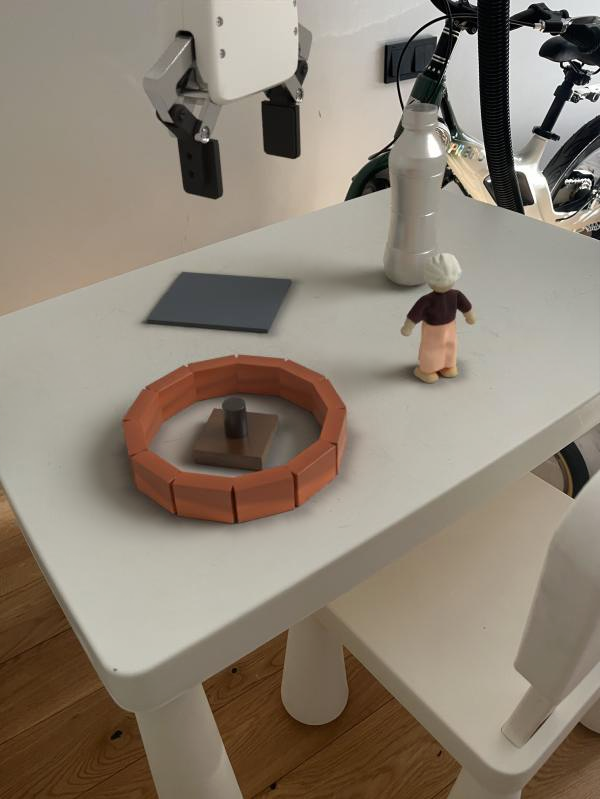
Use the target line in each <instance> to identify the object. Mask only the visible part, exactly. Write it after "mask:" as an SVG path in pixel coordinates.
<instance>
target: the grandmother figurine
mask: <svg viewBox="0 0 600 799" xmlns="http://www.w3.org/2000/svg"><path fill="white" fill-rule="evenodd" d="M423 273H424V276H425V280H426V282H425V283H427V285H428V287H429V288H430V289H431V290H432V291H431V292H429V293H426V294H424V295H422V296H420V297H419V298H418V299H417V300H416V301H415V303H414V304H413V305H412V307H411V308H410V310H409V311H408V313H407V314H406V318H405V320H404V323H403V325H402V327H400V334H401V335H402V336H403V337H410V336H411V335H412V332H413V329H415V327H416V325H417V324H419V323H421V329H420V330H421V333H420V334H421V335H420V342H419V348H418V357H417V359H418V361H419V365H417V366H416V367H415V369H414V370H413V374H414V375H415V376H416V377H417V378H418V379H419V380H421V381H423V382H424V383H427V384H434V383H436V382H438V381H439V376H438V374H437V372H439V373H440V375H441V376H443V377H445V378H454V377H456V376H457V375H458V368H457V354H458V337H457V321H456V320H457V319H456V318H457V310H458V311H459V312H460V313H461V314H462V317H464V321H465V323H466V324H467V325H471V326H472V325H474V324H476V322H477V317H476V315H475V312H474V309H473V305H472V303H471V302H470V300H469V299H468V297H467V296H466V295H465V294H464V293H463V292H462V291H461V290H459V289H454V288H453V287H454V286H455V284H456V282H458V281H459V280H460V279H461V275H462V268H461V266H460V264H459V261H458V259H457V258H456V257H455V255H453V254H452V253H448V252H438V253H437V254H436V255H434V256H432V257H430V258H429V259H428V260H427V262H426V264H425V268H424V271H423Z"/></svg>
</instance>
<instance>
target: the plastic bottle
mask: <svg viewBox="0 0 600 799" xmlns="http://www.w3.org/2000/svg"><path fill="white" fill-rule="evenodd" d="M438 107H439V106H438V105H435V104H431V103H424V102H422V103H421V102H420V103H419V102H418V103H417V102H416V103H410V104H407V105H404V106H403V112H402V120H401V126H402V128H403V131H402V132H401V134H400V135H399V136H398V138H397V139H396V141H395V142H394V144H393V146H392V147H391V149H390V151H389V154H388V174H389V184H390V205H391V206H390V220H389V228H388V234H387V241H386V244H385V247H384V252H383V258H382V261H383V262H382V263H383V270H384V273H385V275H386V276H387V278H388V279H389V280H390V281H391V282H393V283H395V284H397V285H401V286H418V285H423V284H425V283H427V282H426V280H425V276H424V273H423V271H424V268H425V264H426V262H427V260H428V259H429V258H430V257H432V256H434V255H436V254H437V253H439V248H438V242H437V221H438V220H437V218H438V217H437V216H438V215H437V214H438V209H439V207H438V206H439V204H440V194H441V189H442V185H443V180H444V176H445V172H446V168H447V163H448V162H447V161H448V156H447V150H446V147H445V145H444V143H443V141H442V139H441V138H440V136H439V134H438V133H437V132H436V128H437V127H438V125H439V120H438V114H439V108H438Z"/></svg>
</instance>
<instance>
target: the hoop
mask: <svg viewBox="0 0 600 799" xmlns="http://www.w3.org/2000/svg"><path fill="white" fill-rule="evenodd" d="M238 393H242V394H243V393H244V394H251V395H252V394H253V395H254V394H255V395H261V396H263V395H264V396H273V397H280V398H283V399H285V400H286V401H289V402H291V403H293V404H295V405H296V406H298V407H299V408H300V407H301V408H302V409H305V410H306V411H308V412H310V413H312V414H313V415H314V417H315V419H316V421H317V422H318V424H319V426H320V428H321V432H320V435H319V438H318V440H316V441H315V442H314V443H312V444H311V445H310V446H308V447H307V448H305V449H304V450H303V451H301V452H299V454H298V455H296V456H294V458H292V459H291V460H289V461H288V462H286V464H283V465H279V466H275V467H269V468H267V469H263V470H262V471H258V470H257V471H253V472H250V473H246V474H241V475H238V476H234V477H232V476H224V475H216V474H215V475H214V474H207V473H198V472H191V471H182V470H180V469H179V468H177V467H176V466H174V465H173V464H171V463H170V462H169V461H167V460H165V459H164V458H162V457H160V456H159V455H158V454H156V453H155V452H153V451H151V449H149V447H150V446H151V444H152V442H153V441H154V438H155V437H156V435H157V433H158V431H159V430H160V428H161V427H162V425H163V423H164V422H165V421H167V420H168V419H170V418H172V417H174V416H175V415H177V414H179V413H180V412H181V411H183V410H185V409H186V408H188V407H190V406H191V405H193V404H195V403H197V402H200V401H203V400H209V399H214V398H218V397H223V396H227V395H233V394H238ZM347 414H348V412H347V406H346V404H345V403H344V401H343V399H342V398H341V397H340V395H339V394H338V392H337V390H336V389H335V387H334V385H333V384H332V383H331V381H330V379H329V378H327V377H326V376H325V375H324V374H321V373H319V372H317V371H315V370H313V369H311V368H309V367H306V366H305V365H302V364H301V363H298V362H295V361H293V360H292V359H287V360H286V358H284V357H272V356H264V355H263V356H261V355H250V354H238V355H237V357H236V355H235V354H230V355H225V356H219V357H215V358H210V359H209V358H208V359H204V360H199V361H194V362H190V363H187V365H181V366H180V367H178V368H175V369H174V370H171V371H170V372H169V373H167V374H165V375H163V376H161V377H160V378H158V379H156V380H155V381H153V382H151V383H148V384H147V385H145V388H142V389H141V391H140V392H139V393H138V395H137V396H136V398H135V400H134V401H133V403H132V404H131V405H130V407H129V408H128V410H127V412H126V414H124V417H123V418H122V421H121V425H122V431H123V435H124V440H125V444H126V449H127V454H128V458H129V463H130V469H131V472H132V476H133V477H132V478H133V482H134V485H135V487H137V490H138V491H140V492H141V493H143V494H144V495H146V496H147V497H149V498H150V499H151V500H152V501H154V502H155V503H157V504H158V505H160V506H161V507H162V508H164V509H165V510H167V511H168V512H169V513H171V514H172V515H175V514H177V516H178V517H183V518H192V519H198V520H199V519H200V520H207V521H214V522H219V523H220V522H221V523H227V524H234V523H235V521H236V520H237V523H239V524H242V523H244V522H248V521H253V520H257V519H261V518H264V517H269V516H272V515H277V514H281V513H284V512H288V511H291V510H295V509H296V507H301V505H303V504H304V503H305V502H307V501H308V500H309V499H310V498H312V497H313V496H314V495H316V494H317V493H318V492H320V491H321V490H322V489H323V488H324V487H325V486H327V485H328V484H329V483H330V482H332V481H333V480H334V479H335V478H336V477H337V476H336V475H338V474H339V471H340V467H341V463H342V459H343V455H344V451H345V448H346V443H347V434H348V433H347V431H348V430H347V419H348V418H347V417H348V415H347ZM295 506H296V507H295Z"/></svg>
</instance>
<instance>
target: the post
mask: <svg viewBox="0 0 600 799" xmlns="http://www.w3.org/2000/svg"><path fill="white" fill-rule="evenodd" d="M279 427H280V425H279V415H278V414H273V413H263V412H255V411H247V405H246V401H245V399H243V398H241V397H239V396H238V397H237V396H233V397H229V398H226V399H225V400H223V402H222V403H221V408H215V407H214V408H213V409H212V411H211V413H210V415H209V417H208V419H207V421H206V423H205V425H204V427H203V429H202V431H201V433H200V434H199V437H198V439H197V441H196V442H195V445H194V446H193V449H192V453H193V459H194V463H195V464H200V465H209V466H217V467H226V468H234V469H242V470H252V471H257V472H258V471H262V470H264V468H265V465H266V462H267V461H268V458H269V454H270V452H271V449H272V447H273V444H274V441H275V439H276V435H277V433H278V430H279Z"/></svg>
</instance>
